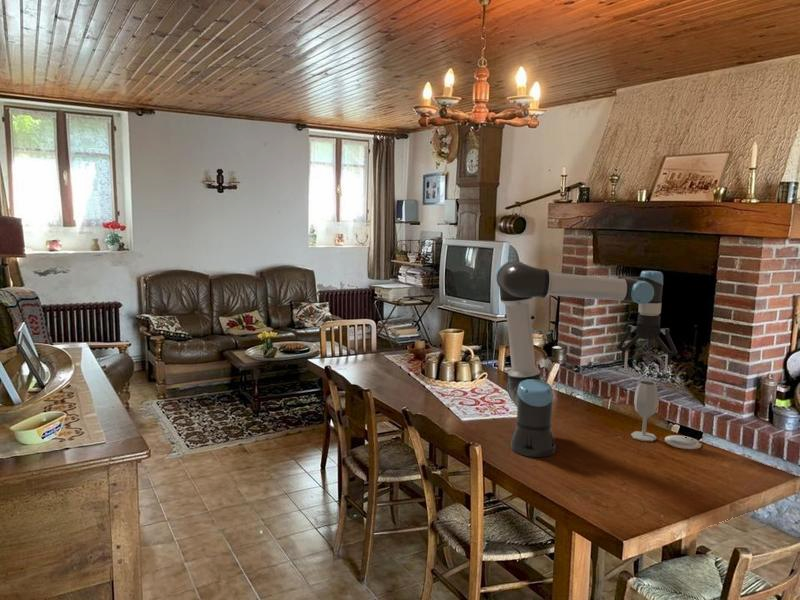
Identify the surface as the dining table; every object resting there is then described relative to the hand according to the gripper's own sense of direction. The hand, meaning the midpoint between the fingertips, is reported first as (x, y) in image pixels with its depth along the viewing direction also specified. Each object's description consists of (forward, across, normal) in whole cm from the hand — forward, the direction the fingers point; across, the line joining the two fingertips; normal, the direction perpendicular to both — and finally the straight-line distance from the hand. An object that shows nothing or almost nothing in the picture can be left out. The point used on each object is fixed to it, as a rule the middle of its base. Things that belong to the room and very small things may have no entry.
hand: (645, 371), depth 219 cm
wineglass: (+25, -1, +2) cm, 25 cm away
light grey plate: (+25, -14, +1) cm, 28 cm away
